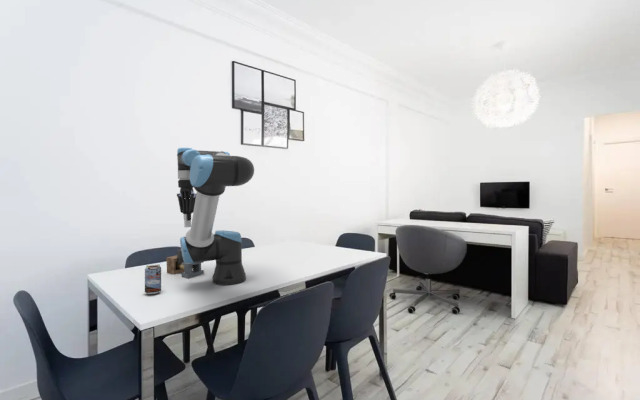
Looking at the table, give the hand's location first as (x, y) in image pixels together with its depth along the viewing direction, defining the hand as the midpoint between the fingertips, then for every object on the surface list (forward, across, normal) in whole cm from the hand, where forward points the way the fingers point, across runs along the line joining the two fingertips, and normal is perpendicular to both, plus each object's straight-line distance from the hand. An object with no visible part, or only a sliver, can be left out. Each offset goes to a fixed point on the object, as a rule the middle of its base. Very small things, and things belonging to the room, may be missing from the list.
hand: (187, 227), depth 164 cm
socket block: (+24, +11, 0) cm, 26 cm away
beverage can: (+24, -12, +26) cm, 37 cm away
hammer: (+22, +5, 0) cm, 22 cm away
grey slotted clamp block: (+24, -3, 0) cm, 24 cm away
